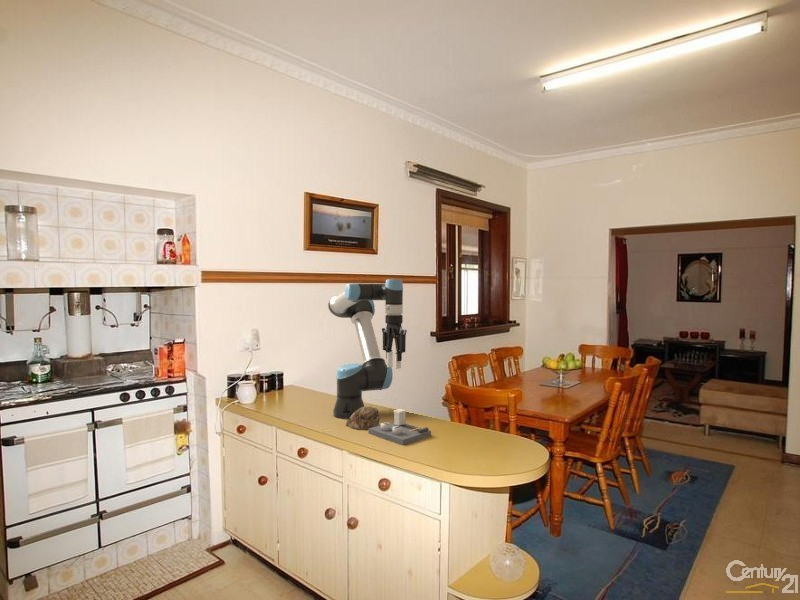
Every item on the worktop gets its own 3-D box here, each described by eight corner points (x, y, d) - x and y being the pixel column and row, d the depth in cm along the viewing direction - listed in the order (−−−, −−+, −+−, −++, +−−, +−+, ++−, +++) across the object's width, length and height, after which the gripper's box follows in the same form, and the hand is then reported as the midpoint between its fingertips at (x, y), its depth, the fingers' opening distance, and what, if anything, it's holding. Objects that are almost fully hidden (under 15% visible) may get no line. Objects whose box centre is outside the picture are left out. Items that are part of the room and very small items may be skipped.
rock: (358, 423, 213) (341, 428, 205) (356, 404, 213) (340, 408, 205) (382, 426, 204) (366, 432, 196) (381, 406, 204) (365, 411, 196)
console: (368, 433, 195) (368, 422, 195) (397, 425, 206) (397, 415, 206) (402, 445, 180) (402, 433, 180) (431, 435, 192) (431, 424, 192)
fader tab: (393, 424, 200) (393, 410, 200) (400, 422, 203) (400, 408, 203) (399, 425, 198) (399, 411, 197) (405, 423, 200) (406, 410, 200)
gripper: (374, 313, 211) (374, 366, 212) (401, 315, 199) (401, 371, 199) (386, 313, 216) (386, 364, 217) (414, 315, 204) (414, 369, 204)
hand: (393, 367), depth 208 cm, fingers open, 4 cm apart
